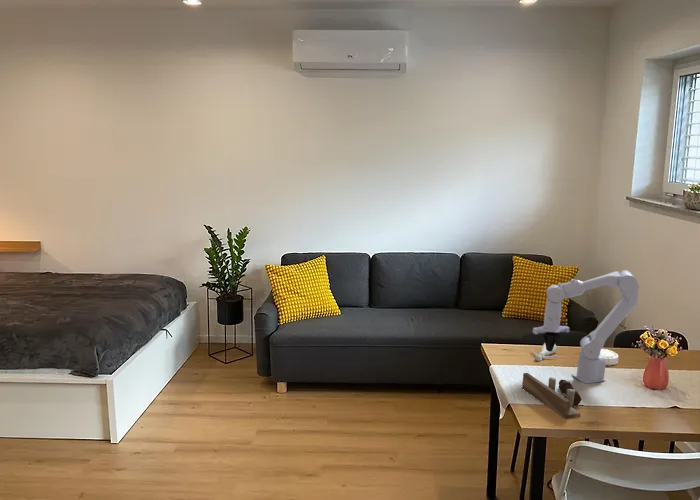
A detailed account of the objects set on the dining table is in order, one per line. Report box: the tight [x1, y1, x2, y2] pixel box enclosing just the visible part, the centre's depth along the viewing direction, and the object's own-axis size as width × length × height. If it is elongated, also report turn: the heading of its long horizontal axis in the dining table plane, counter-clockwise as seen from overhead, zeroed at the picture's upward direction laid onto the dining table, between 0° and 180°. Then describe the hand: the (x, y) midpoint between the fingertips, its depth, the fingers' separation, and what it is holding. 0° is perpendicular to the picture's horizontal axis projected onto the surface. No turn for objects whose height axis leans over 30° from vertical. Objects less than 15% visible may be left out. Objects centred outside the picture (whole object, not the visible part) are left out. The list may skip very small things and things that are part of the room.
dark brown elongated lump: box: [558, 379, 582, 407], centre depth 212 cm, size 6×5×15 cm
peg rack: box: [521, 372, 582, 420], centre depth 207 cm, size 8×24×6 cm, turn 18°
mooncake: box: [600, 348, 620, 366], centre depth 248 cm, size 12×12×4 cm
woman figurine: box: [530, 342, 559, 362], centre depth 251 cm, size 12×4×18 cm
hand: (549, 350), depth 230 cm, fingers closed
